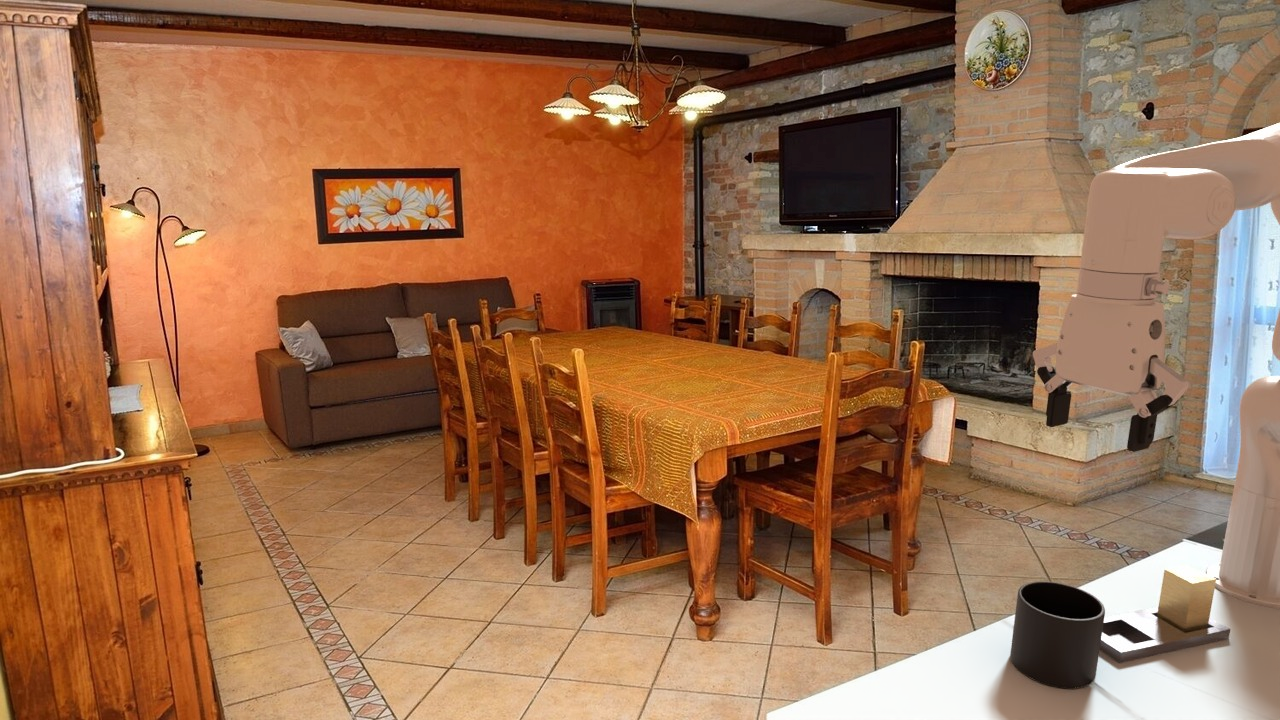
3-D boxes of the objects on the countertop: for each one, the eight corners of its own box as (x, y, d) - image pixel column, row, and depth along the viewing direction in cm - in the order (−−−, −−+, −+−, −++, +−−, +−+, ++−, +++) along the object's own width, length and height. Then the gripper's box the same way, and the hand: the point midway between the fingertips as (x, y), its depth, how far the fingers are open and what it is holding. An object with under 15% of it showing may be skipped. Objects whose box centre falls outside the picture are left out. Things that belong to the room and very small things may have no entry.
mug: (1129, 675, 101) (1140, 607, 99) (1053, 697, 97) (1063, 626, 95) (1065, 635, 110) (1073, 572, 108) (993, 653, 105) (1000, 588, 103)
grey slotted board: (1179, 615, 115) (1181, 602, 114) (1227, 642, 108) (1230, 629, 108) (1074, 637, 109) (1076, 623, 109) (1118, 667, 103) (1121, 652, 102)
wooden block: (1178, 619, 112) (1187, 564, 111) (1206, 635, 109) (1216, 578, 107) (1155, 624, 111) (1164, 569, 109) (1182, 640, 108) (1192, 583, 106)
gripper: (1220, 295, 86) (1194, 454, 89) (1064, 275, 100) (1047, 412, 104) (1179, 300, 82) (1153, 466, 86) (1023, 279, 97) (1007, 421, 101)
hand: (1095, 436), depth 95 cm, fingers open, 9 cm apart
